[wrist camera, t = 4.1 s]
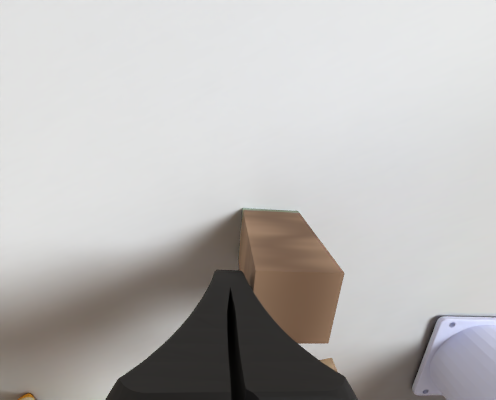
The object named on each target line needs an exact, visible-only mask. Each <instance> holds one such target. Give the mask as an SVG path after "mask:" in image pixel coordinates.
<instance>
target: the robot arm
mask: <svg viewBox="0 0 496 400" xmlns="http://www.w3.org/2000/svg"><path fill="white" fill-rule="evenodd" d="M412 391H413V392H414V394H415V395H419V396H420V395H443V396H444V397H445V398H446V400H496V317H454V316H443V317H440V318H439V319H438V320H437V322H436V325H435V328H434V330H433V333H432V336H431V338H430V341H429V344H428V346H427V349H426V352H425V354H424V357H423V360H422V362H421V365H420V368H419V370H418V373H417V376H416V378H415V381H414V384H413V386H412ZM106 400H358V399H357V397H356V395H355V393H354V392H353V390H352V388H351V387H350V385H349V383H348V381H347V380H346V378H345V377H344V376H343V375H341V374H340V373H338V372H336V371H335V370H333V369H332V368H330V367H329V366H327V365H325V364H324V363H322V362H321V361H319V360H318V359H317V358H315V357H314V356H313V355H311V354H310V353H309V352H307V351H306V350H305V349H304V348H302V347H301V346H300V345H299V344H298V343H296V342H295V341H294V340H293V339H292V338H291V337H290V336H289V335H287V334H286V333H285V332H284V331H283V330H282V328H281V327H280V326H279V325H278V324H277V323H276V322H275V321H274V320H273V318H272V317H271V316H270V315H269V313H268V312H267V311H266V310H265V308H264V307H263V305H262V304H261V303H260V301H259V300H258V298H257V297H256V295H255V294H254V292H253V290H252V289H251V287H250V285H249V283H248V281H247V279H246V277H245V275H244V273H243V272H242V271H232V270H216V271H215V272H214V275H213V278H212V281H211V283H210V285H209V287H208V289H207V290H206V292H205V294H204V296H203V297H202V299H201V300H200V302H199V303H198V305H197V306H196V308H195V309H194V311H193V312H192V313H191V315H190V316H189V317H188V318H187V320H186V321H185V322H184V323H183V324H182V326H181V327H180V328H179V329H178V330H177V331H176V332H175V333H174V334H173V335H172V336H171V337H170V338H169V339H168V340H167V341H166V342H165V343H164V344H163V345H162V346H161V347H160V348H158V349H157V350H156V351H155V352H154V353H153V354H151V355H150V356H149V357H148V358H147V359H146V360H144V361H143V362H142V363H140V364H139V365H138V366H136V367H135V368H133V369H132V370H131V371H129V372H128V373H126V374H125V375H124V376H122V377H120V378H119V379H118V380H117V382H116V383H115V385H114V386H113V388H112V389H111V391H110V393H109V394H108V396H107V398H106Z"/></svg>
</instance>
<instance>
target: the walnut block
mask: <svg viewBox="0 0 496 400" xmlns="http://www.w3.org/2000/svg"><path fill="white" fill-rule="evenodd" d="M238 261H239V270H240V271H242V272H243V273H244V275H245V277H246V279H247V281H248V283H249V285H250V287H251V289H252V290H253V292H254V294H255V295H256V297H257V298H258V300H259V301H260V303H261V304H262V305H263V307H264V308H265V310H266V311H267V312H268V313H269V315H270V316H271V317H272V318H273V320H274V321H275V322H276V323H277V324H278V325H279V326H280V327H281V328H282V330H283V331H284V332H285V333H286V334H287V335H289V336H290V337H291V338H292V339H293V340H294V341H295V342H296V343H328V342H329V338H330V333H331V329H332V325H333V320H334V316H335V312H336V307H337V303H338V298H339V294H340V290H341V285H342V281H343V277H344V272H343V271H342V269H341V268H340V267H339V265H338V264H337V263H336V261H335V260H334V259H333V257H332V256H331V255H330V253H329V252H328V251H327V249H326V248H325V247H324V245H323V244H322V243H321V241H320V240H319V239H318V237H317V236H316V235H315V233H314V232H313V231H312V229H311V228H310V227H309V225H308V224H307V222H306V221H305V220H304V218H303V217H302V216H301V214H300V213H299V212H298V211H284V210H265V209H246V208H243V210H242V222H241V233H240V244H239V256H238Z"/></svg>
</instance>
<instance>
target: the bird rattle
mask: <svg viewBox="0 0 496 400" xmlns="http://www.w3.org/2000/svg"><path fill="white" fill-rule="evenodd" d="M18 400H35V398H34V396H33V395H31V394H30V393H28V394H25V395H23V396H22V397H20V398H19V399H18Z"/></svg>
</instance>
